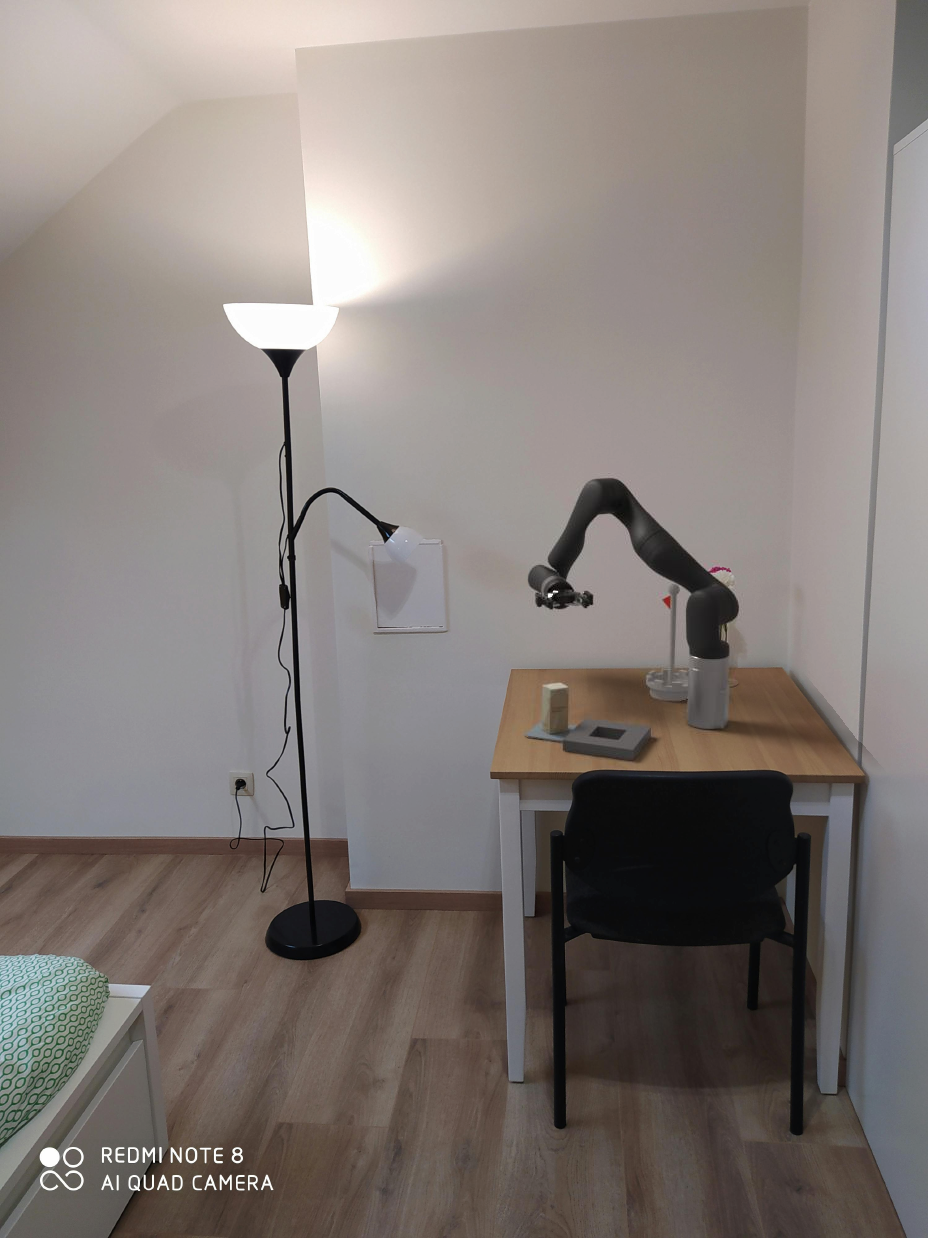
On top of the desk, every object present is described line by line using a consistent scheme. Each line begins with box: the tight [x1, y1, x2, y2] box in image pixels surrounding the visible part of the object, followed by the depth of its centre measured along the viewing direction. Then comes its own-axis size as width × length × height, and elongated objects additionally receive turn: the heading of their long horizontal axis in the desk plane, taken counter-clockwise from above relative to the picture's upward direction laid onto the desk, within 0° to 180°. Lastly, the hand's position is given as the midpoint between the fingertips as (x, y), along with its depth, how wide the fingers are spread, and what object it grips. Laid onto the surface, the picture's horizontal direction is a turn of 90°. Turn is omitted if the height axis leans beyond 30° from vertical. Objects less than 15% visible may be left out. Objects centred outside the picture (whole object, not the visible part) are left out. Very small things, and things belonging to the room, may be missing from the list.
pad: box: [524, 720, 578, 744], centre depth 216 cm, size 10×11×1 cm
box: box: [541, 682, 570, 734], centre depth 215 cm, size 5×4×11 cm
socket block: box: [562, 717, 652, 761], centre depth 208 cm, size 16×16×2 cm
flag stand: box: [645, 583, 689, 702], centre depth 239 cm, size 13×13×30 cm
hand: (569, 604), depth 223 cm, fingers open, 8 cm apart
